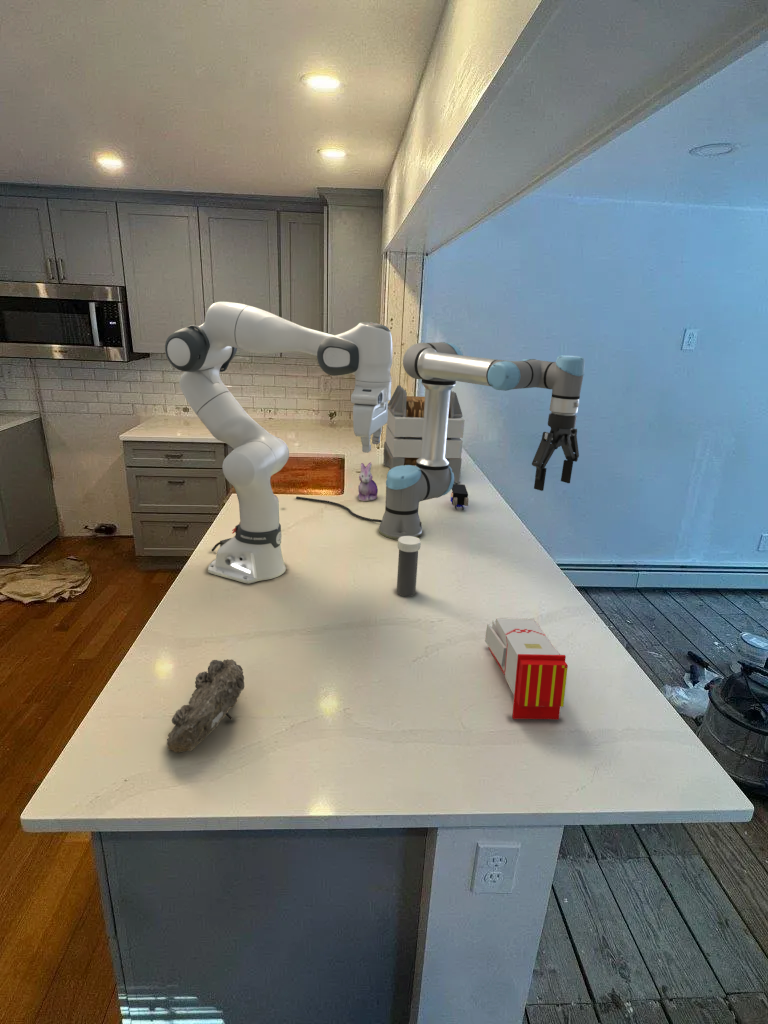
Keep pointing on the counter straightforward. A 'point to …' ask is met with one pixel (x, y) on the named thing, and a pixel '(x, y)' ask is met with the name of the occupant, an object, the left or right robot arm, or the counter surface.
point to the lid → (409, 543)
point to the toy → (529, 667)
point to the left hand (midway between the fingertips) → (371, 447)
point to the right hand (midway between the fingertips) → (552, 485)
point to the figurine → (367, 484)
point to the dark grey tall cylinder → (407, 573)
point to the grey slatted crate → (419, 431)
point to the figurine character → (459, 496)
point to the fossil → (206, 705)
